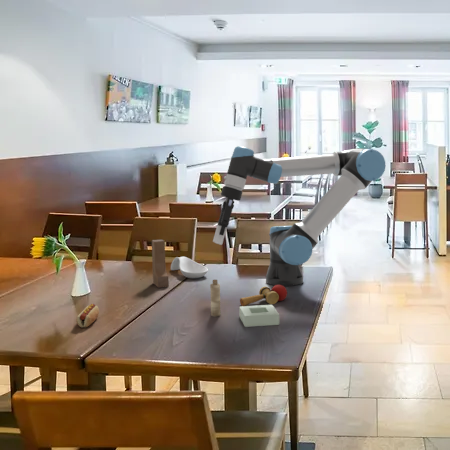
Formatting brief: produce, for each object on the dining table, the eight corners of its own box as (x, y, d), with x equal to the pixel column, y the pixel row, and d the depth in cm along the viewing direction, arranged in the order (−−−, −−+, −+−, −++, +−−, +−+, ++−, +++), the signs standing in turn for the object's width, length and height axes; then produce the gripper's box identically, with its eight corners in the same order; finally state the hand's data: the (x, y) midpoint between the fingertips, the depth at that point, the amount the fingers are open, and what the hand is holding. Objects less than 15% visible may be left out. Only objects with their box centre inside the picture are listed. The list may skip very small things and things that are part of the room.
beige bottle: (219, 313, 209) (219, 278, 207) (221, 316, 206) (220, 281, 204) (210, 313, 208) (209, 279, 207) (211, 316, 205) (210, 281, 203)
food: (85, 316, 209) (84, 302, 208) (101, 316, 208) (100, 302, 208) (73, 329, 195) (73, 314, 194) (91, 329, 195) (90, 314, 194)
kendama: (248, 313, 214) (293, 299, 221) (244, 295, 214) (289, 282, 221) (239, 311, 221) (282, 298, 228) (235, 294, 221) (279, 281, 228)
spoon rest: (213, 278, 262) (212, 261, 261) (189, 282, 255) (188, 265, 254) (185, 268, 281) (185, 253, 280) (162, 272, 275) (162, 256, 274)
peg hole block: (269, 310, 211) (268, 300, 210) (279, 324, 195) (279, 314, 195) (237, 312, 209) (237, 302, 209) (244, 326, 194) (244, 316, 193)
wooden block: (168, 287, 246) (167, 242, 244) (157, 288, 245) (156, 243, 242) (163, 282, 255) (162, 239, 252) (153, 283, 253) (151, 240, 251)
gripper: (221, 187, 240) (206, 239, 240) (225, 183, 215) (208, 241, 215) (239, 192, 241) (224, 244, 241) (246, 189, 216) (229, 247, 216)
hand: (217, 243), depth 228 cm, fingers open, 13 cm apart
